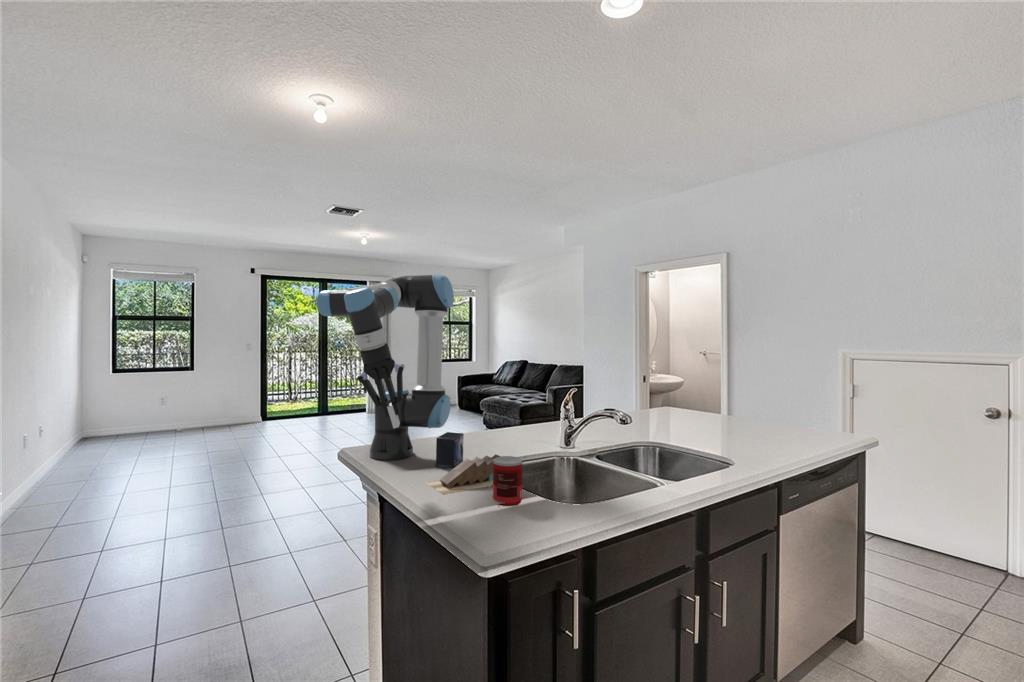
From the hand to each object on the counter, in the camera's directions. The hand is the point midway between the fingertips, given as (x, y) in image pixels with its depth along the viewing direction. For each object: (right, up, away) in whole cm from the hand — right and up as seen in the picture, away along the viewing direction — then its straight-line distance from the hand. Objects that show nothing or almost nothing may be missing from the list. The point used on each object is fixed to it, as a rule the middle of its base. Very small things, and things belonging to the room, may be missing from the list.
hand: (396, 425), depth 137 cm
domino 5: (+24, -16, +8) cm, 30 cm away
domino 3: (+19, -16, +4) cm, 25 cm away
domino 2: (+16, -16, +2) cm, 23 cm away
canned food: (+31, -19, -8) cm, 37 cm away
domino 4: (+22, -16, +6) cm, 28 cm away
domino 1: (+13, -16, 0) cm, 21 cm away
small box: (+12, -18, +25) cm, 33 cm away
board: (+18, -18, +3) cm, 26 cm away
